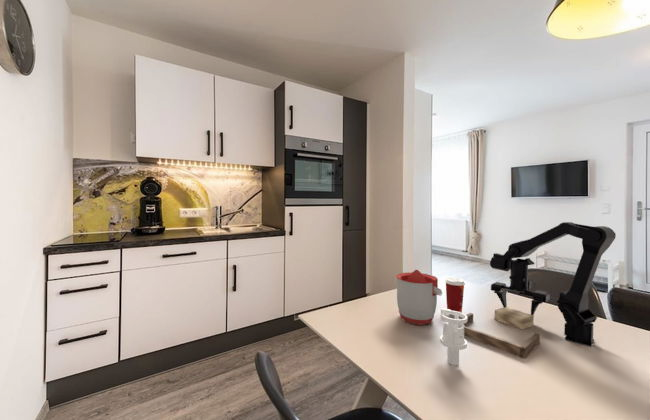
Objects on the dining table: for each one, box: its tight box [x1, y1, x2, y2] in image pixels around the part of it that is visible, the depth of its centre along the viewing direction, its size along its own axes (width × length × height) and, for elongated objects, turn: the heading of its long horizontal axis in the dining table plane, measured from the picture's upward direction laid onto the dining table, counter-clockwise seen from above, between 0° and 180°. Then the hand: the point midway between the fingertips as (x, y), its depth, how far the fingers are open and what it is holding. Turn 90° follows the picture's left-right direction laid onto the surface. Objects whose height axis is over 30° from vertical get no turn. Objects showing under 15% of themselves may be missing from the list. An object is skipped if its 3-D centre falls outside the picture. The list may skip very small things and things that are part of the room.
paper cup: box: [444, 277, 466, 313], centre depth 116 cm, size 8×8×14 cm
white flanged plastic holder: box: [439, 307, 468, 366], centre depth 79 cm, size 7×7×15 cm
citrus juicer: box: [396, 269, 443, 326], centre depth 108 cm, size 16×17×20 cm
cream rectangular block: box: [494, 306, 535, 330], centre depth 107 cm, size 10×8×4 cm
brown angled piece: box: [459, 312, 541, 360], centre depth 95 cm, size 22×15×3 cm
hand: (518, 312), depth 110 cm, fingers open, 9 cm apart
